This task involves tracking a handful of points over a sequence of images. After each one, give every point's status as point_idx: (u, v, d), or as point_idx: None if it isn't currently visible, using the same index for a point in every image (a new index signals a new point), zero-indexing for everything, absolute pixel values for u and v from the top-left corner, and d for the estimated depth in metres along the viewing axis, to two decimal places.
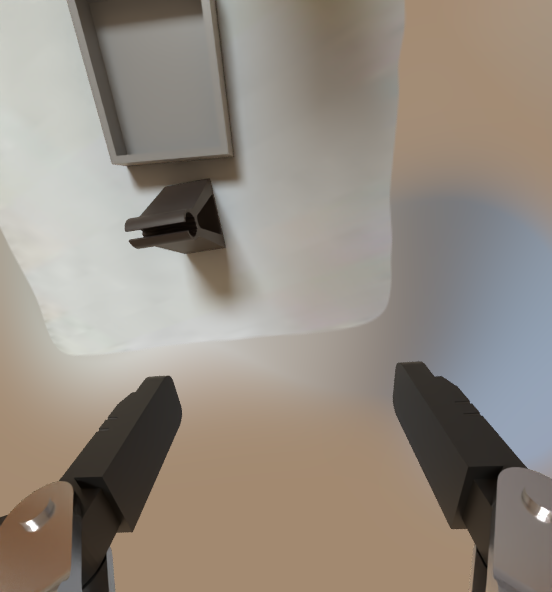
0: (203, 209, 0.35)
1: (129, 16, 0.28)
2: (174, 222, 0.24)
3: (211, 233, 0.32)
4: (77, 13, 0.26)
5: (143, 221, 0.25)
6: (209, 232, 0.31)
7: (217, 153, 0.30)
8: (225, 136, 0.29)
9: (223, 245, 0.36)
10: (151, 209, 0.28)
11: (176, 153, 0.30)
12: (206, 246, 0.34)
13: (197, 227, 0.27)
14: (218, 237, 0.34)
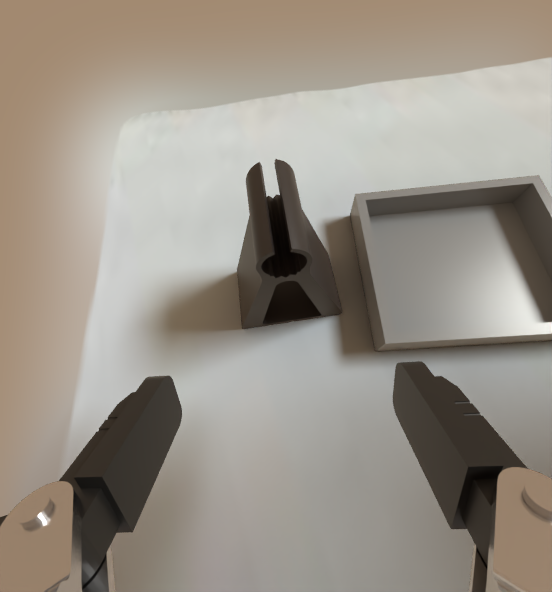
0: (299, 300, 0.24)
1: (513, 239, 0.24)
2: (289, 232, 0.13)
3: (265, 306, 0.19)
4: (509, 184, 0.23)
5: (291, 186, 0.14)
6: (267, 302, 0.18)
7: (384, 326, 0.19)
8: (409, 340, 0.19)
9: (245, 325, 0.23)
10: (304, 219, 0.19)
11: (376, 269, 0.21)
12: (245, 298, 0.21)
13: (277, 278, 0.15)
14: (258, 317, 0.21)
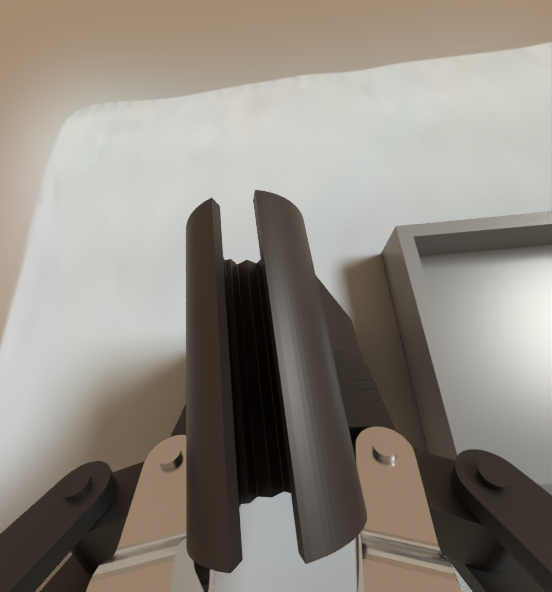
0: None
1: None
2: (296, 466, 0.04)
3: None
4: None
5: (297, 271, 0.05)
6: None
7: None
8: None
9: None
10: (321, 296, 0.09)
11: (445, 366, 0.12)
12: None
13: (262, 493, 0.06)
14: None
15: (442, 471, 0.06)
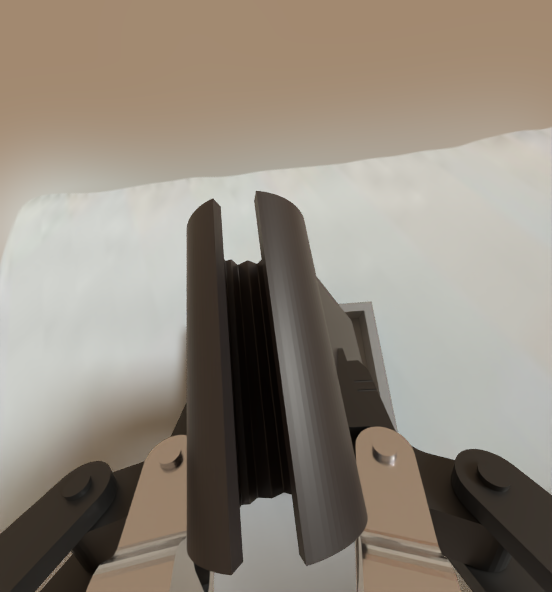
0: None
1: None
2: (297, 468, 0.04)
3: None
4: None
5: (298, 272, 0.05)
6: None
7: None
8: None
9: None
10: (321, 297, 0.09)
11: None
12: None
13: (262, 494, 0.06)
14: None
15: (442, 471, 0.06)
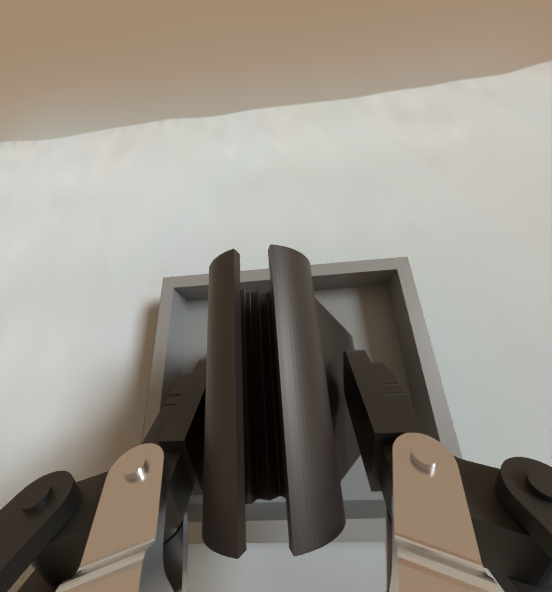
0: None
1: (376, 342, 0.17)
2: (291, 482, 0.05)
3: None
4: (365, 270, 0.16)
5: (301, 317, 0.06)
6: None
7: None
8: None
9: None
10: (323, 321, 0.10)
11: (154, 405, 0.15)
12: None
13: (261, 496, 0.07)
14: None
15: (484, 479, 0.05)
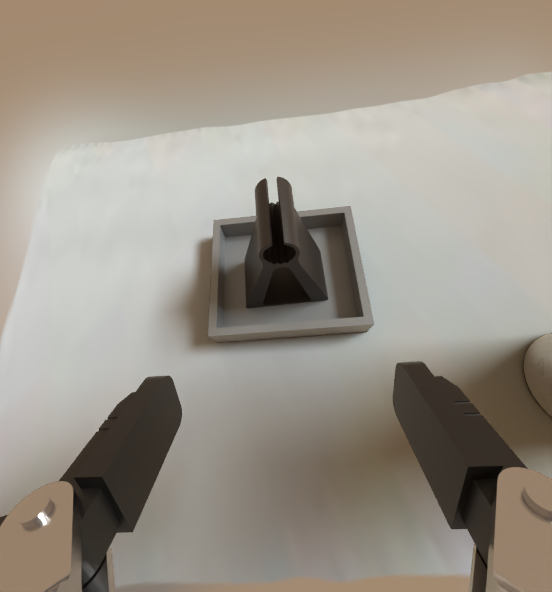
0: (293, 287, 0.29)
1: (334, 255, 0.30)
2: (283, 230, 0.18)
3: (265, 288, 0.24)
4: (327, 213, 0.30)
5: (287, 197, 0.19)
6: (266, 284, 0.24)
7: (209, 323, 0.26)
8: (225, 334, 0.26)
9: (249, 305, 0.28)
10: (299, 221, 0.24)
11: (215, 280, 0.28)
12: (249, 282, 0.27)
13: (274, 265, 0.20)
14: (259, 298, 0.27)
15: None
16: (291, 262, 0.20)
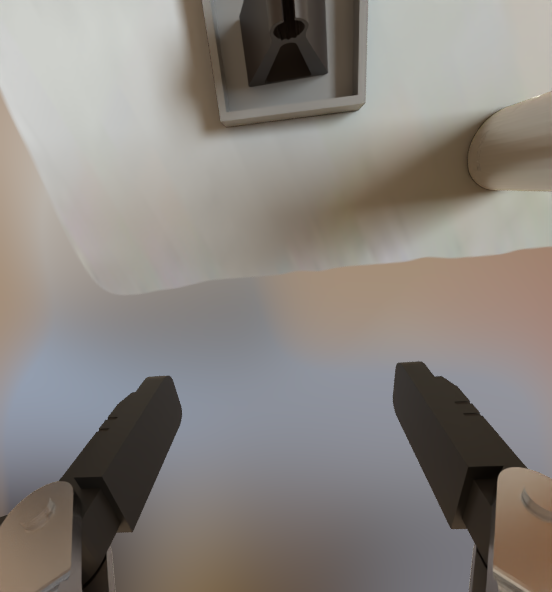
0: (294, 58, 0.29)
1: (339, 6, 0.27)
2: None
3: (269, 65, 0.25)
4: None
5: None
6: (271, 61, 0.25)
7: (219, 107, 0.29)
8: (235, 118, 0.29)
9: (251, 83, 0.29)
10: None
11: (214, 52, 0.27)
12: (251, 55, 0.26)
13: (282, 40, 0.21)
14: (263, 76, 0.28)
15: None
16: (298, 37, 0.21)
